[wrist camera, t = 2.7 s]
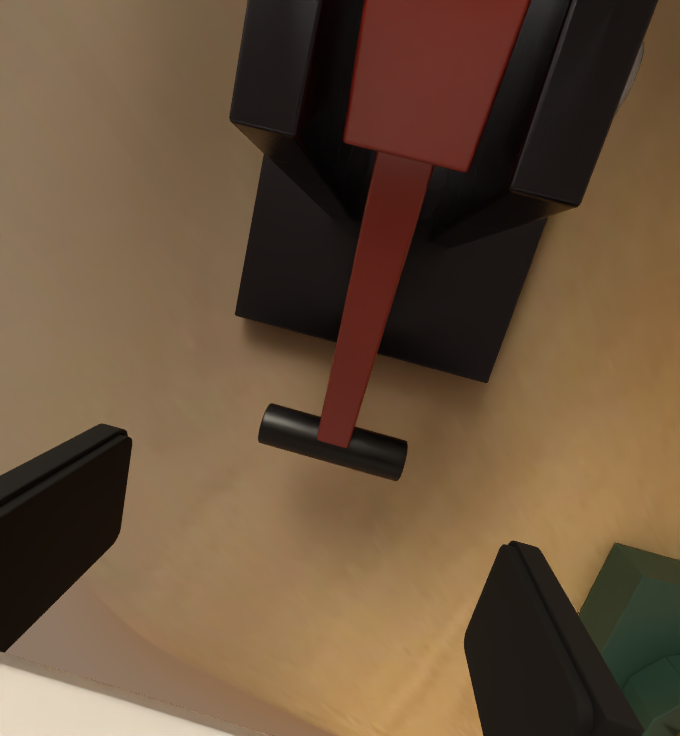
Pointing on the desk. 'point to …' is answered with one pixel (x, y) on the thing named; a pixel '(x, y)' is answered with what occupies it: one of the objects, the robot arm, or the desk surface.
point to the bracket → (446, 187)
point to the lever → (399, 189)
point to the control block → (640, 632)
